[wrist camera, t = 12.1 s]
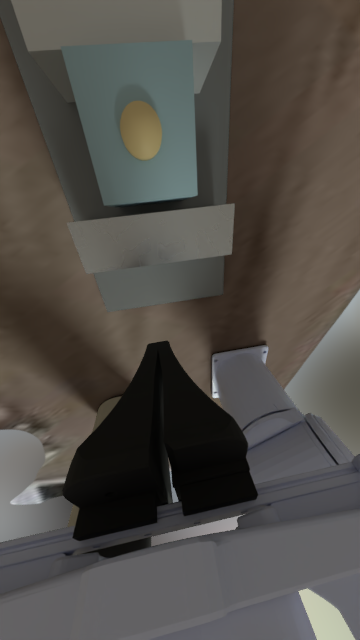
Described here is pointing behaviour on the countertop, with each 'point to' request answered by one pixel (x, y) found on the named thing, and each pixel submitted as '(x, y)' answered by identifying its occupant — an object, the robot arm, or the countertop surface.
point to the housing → (137, 118)
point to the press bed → (69, 139)
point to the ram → (153, 237)
